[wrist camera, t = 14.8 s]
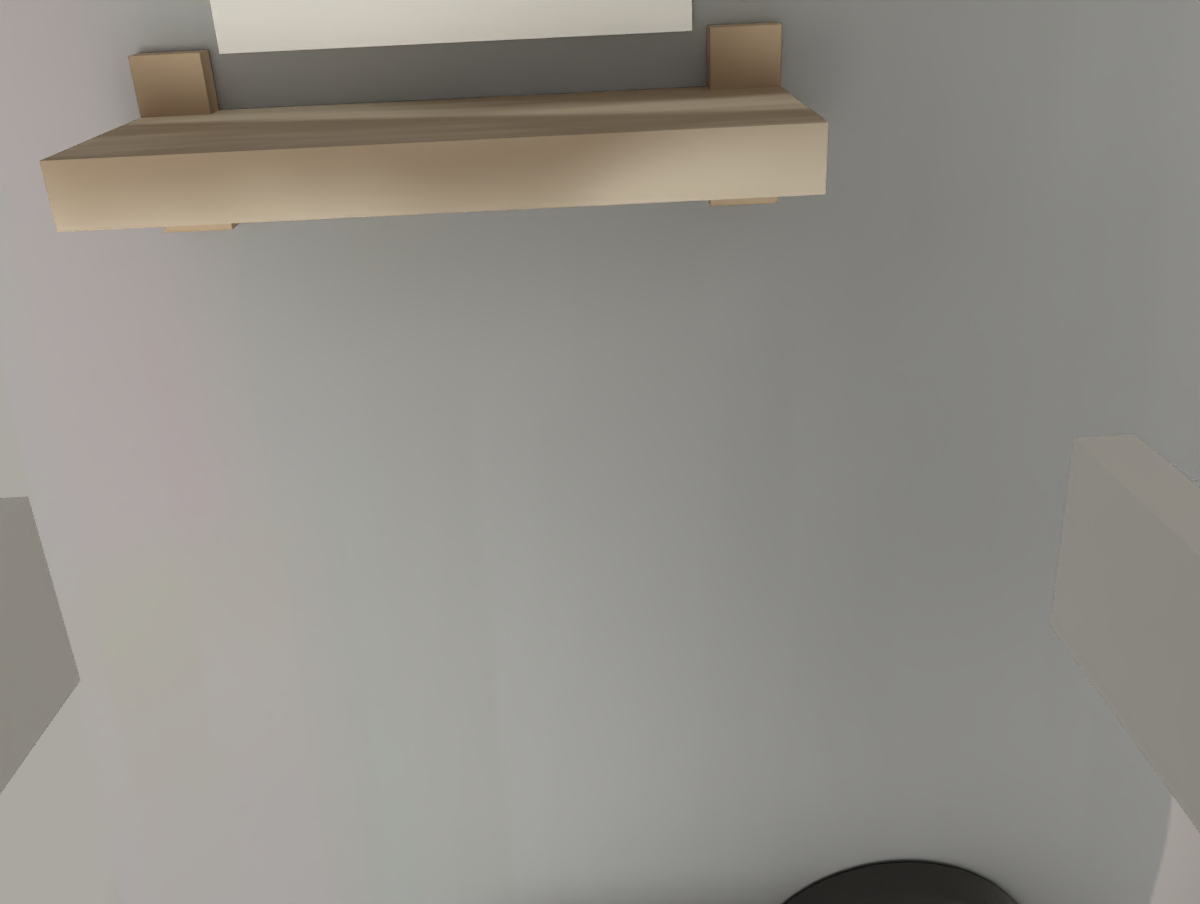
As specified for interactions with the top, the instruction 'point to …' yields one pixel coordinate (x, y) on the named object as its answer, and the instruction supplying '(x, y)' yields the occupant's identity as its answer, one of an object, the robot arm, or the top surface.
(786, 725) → the top surface
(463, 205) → the wooden screen
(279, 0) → the display pad
